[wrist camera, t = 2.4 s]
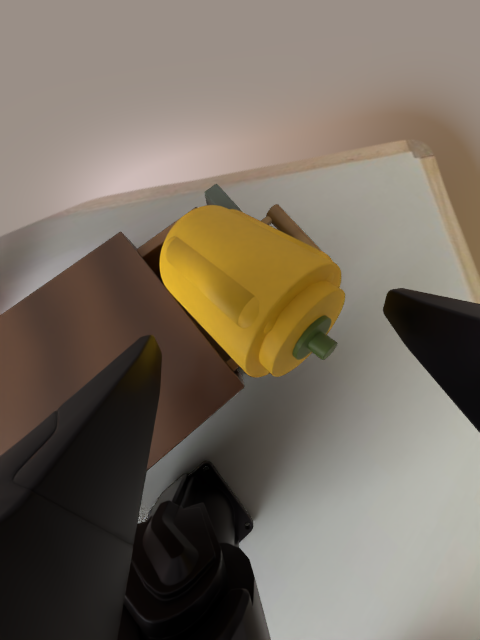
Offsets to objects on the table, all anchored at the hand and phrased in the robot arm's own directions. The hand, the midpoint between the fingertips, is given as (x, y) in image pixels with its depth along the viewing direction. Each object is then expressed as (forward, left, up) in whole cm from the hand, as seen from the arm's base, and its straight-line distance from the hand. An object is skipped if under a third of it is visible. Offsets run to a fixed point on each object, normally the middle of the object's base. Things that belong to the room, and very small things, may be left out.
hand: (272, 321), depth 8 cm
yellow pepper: (+7, -1, -6) cm, 9 cm away
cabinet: (+5, +11, -13) cm, 18 cm away
